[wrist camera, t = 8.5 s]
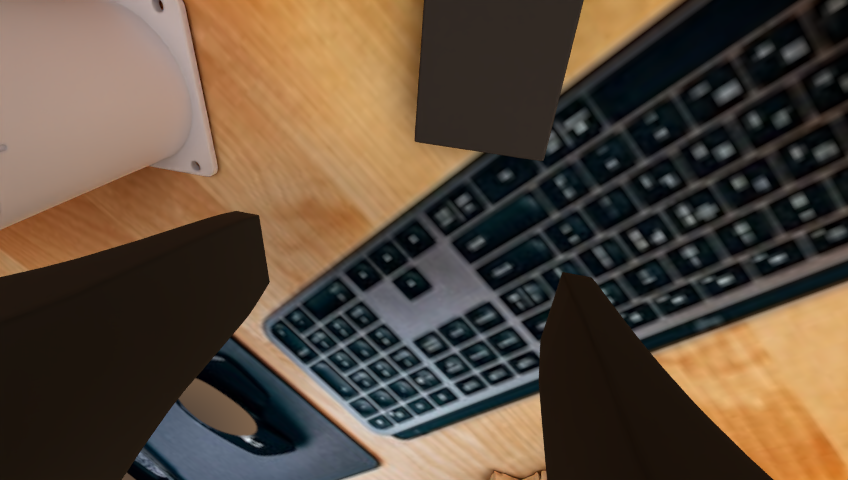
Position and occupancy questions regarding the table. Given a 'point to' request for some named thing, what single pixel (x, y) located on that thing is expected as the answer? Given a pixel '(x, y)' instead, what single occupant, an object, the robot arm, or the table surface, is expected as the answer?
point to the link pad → (493, 73)
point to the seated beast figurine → (504, 479)
